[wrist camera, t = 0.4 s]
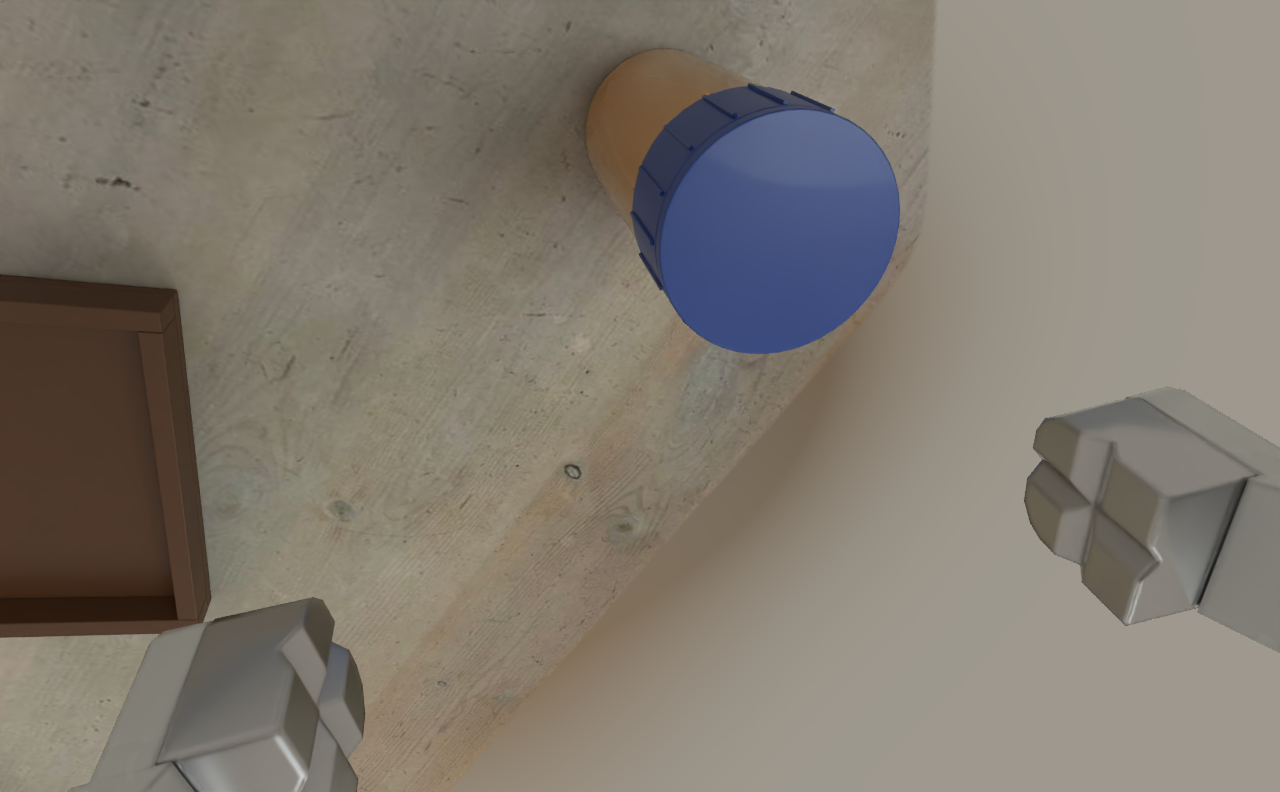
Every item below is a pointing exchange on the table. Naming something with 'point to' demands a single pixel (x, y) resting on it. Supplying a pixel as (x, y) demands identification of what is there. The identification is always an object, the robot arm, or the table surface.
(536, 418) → the table surface
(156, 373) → the walnut tray
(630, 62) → the jam jar
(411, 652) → the table surface
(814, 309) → the jam lid
